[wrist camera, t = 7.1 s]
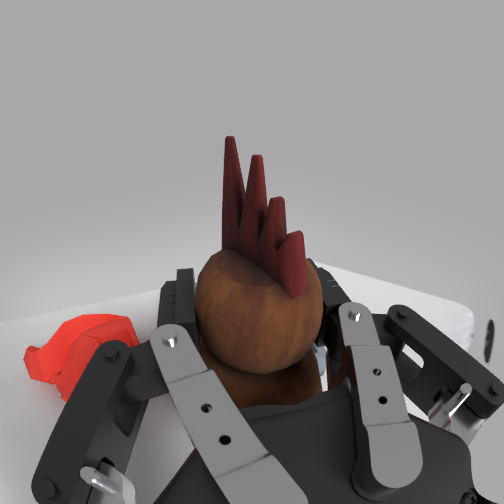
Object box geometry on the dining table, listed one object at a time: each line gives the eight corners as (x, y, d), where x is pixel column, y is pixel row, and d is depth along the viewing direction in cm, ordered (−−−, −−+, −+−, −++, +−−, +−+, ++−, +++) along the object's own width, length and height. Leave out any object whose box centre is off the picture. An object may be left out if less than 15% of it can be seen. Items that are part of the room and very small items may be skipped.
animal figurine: (34, 354, 24) (16, 324, 22) (133, 325, 31) (122, 292, 29) (35, 429, 16) (6, 401, 13) (160, 396, 22) (145, 364, 20)
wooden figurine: (197, 384, 17) (165, 136, 9) (280, 370, 18) (306, 135, 11) (215, 475, 11) (140, 169, 4) (315, 452, 12) (429, 172, 5)
